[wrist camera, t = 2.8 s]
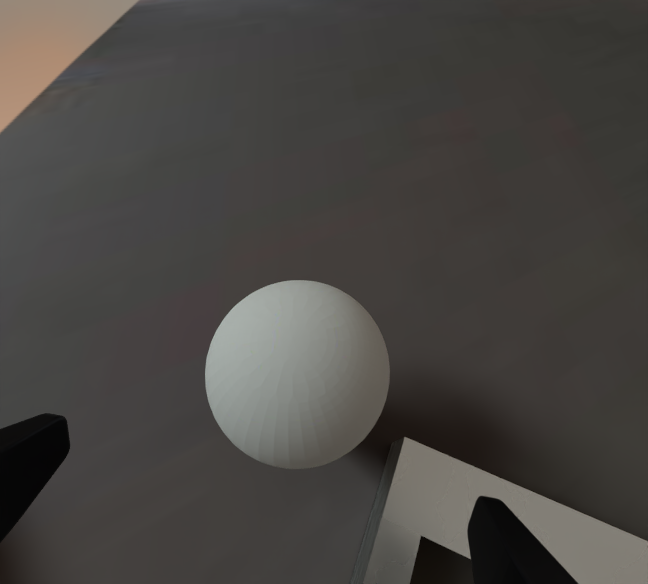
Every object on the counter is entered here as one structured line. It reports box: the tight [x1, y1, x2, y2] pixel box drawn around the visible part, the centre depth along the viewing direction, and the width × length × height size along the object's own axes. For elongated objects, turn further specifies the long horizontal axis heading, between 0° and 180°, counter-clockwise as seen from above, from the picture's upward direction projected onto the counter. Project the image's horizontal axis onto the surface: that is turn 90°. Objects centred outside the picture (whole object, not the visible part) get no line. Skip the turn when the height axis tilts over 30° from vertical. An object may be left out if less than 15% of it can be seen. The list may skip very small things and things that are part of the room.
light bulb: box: [205, 280, 390, 469], centre depth 13 cm, size 6×6×10 cm
